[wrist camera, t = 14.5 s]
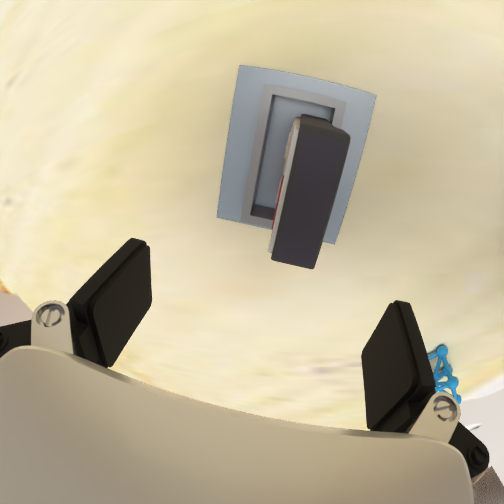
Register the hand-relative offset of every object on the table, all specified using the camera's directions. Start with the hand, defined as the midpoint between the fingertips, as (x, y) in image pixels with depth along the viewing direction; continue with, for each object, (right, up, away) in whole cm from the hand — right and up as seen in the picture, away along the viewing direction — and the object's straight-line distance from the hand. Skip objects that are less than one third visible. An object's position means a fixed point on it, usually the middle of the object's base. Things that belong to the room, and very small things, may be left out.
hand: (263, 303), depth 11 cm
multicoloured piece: (+6, +13, +23) cm, 27 cm away
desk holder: (+4, +13, +24) cm, 27 cm away
